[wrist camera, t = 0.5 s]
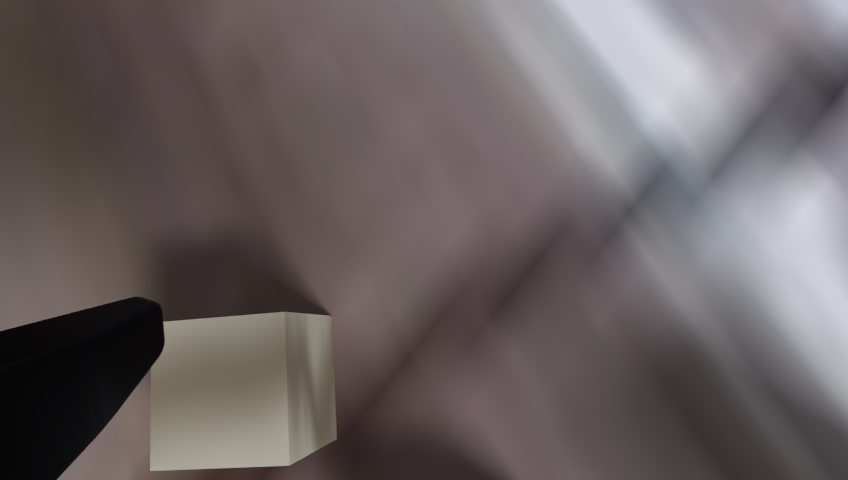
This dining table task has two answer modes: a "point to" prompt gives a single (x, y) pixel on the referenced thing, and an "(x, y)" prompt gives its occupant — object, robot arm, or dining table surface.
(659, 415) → the dining table surface
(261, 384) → the oatmeal cube
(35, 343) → the robot arm
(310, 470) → the dining table surface
